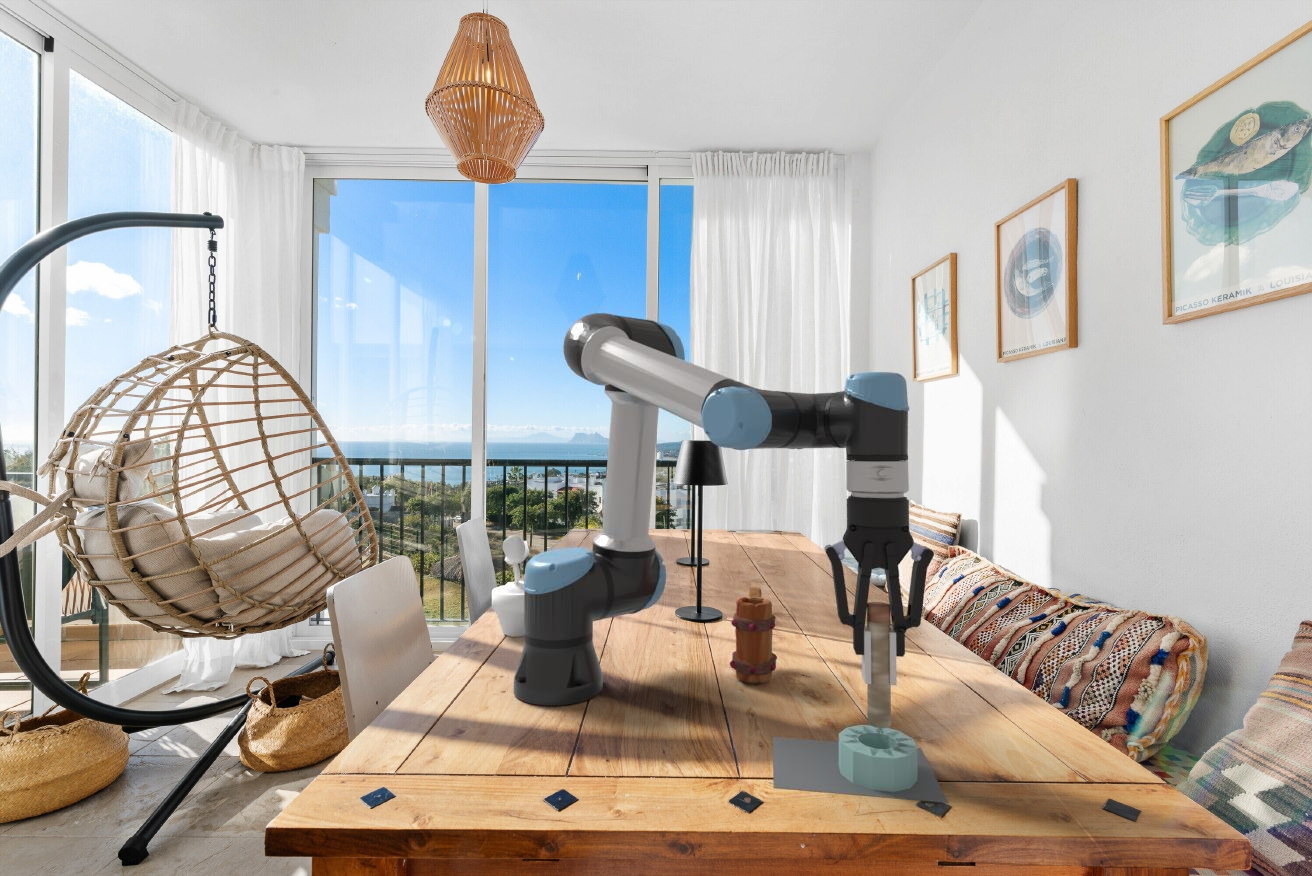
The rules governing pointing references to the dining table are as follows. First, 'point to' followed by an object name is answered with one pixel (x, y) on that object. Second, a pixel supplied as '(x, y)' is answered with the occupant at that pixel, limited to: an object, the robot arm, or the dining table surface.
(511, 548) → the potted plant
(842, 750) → the bead
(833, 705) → the dining table surface
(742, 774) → the dining table surface
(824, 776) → the mat
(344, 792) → the dining table surface
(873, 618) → the dowel
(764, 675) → the wooden banded keg
